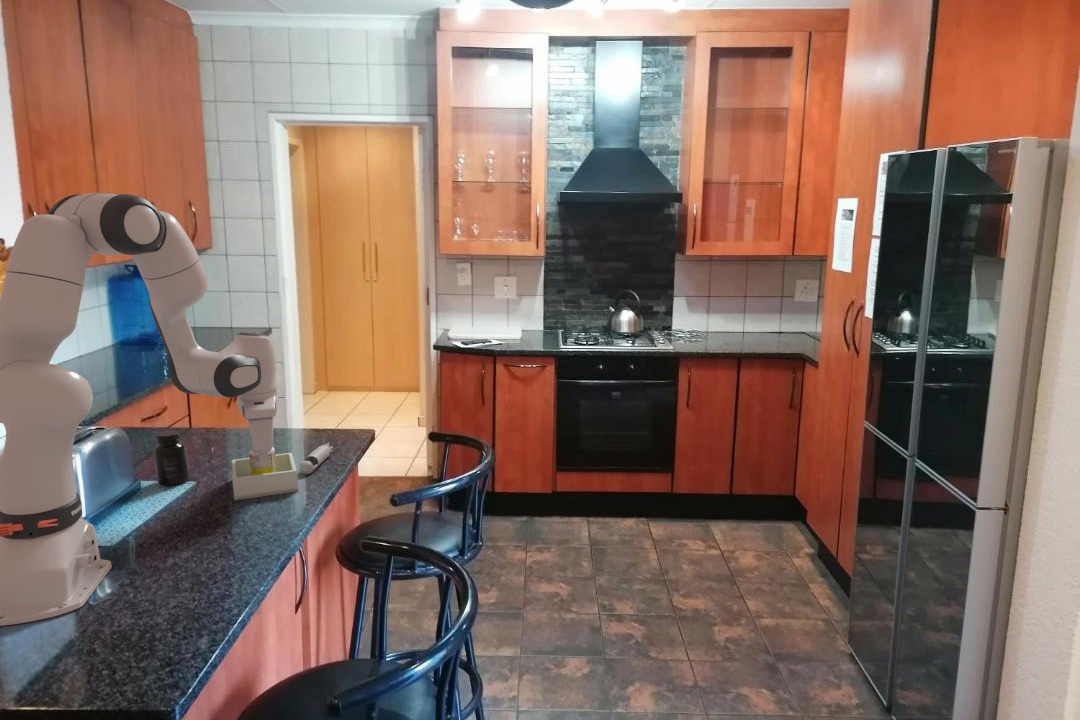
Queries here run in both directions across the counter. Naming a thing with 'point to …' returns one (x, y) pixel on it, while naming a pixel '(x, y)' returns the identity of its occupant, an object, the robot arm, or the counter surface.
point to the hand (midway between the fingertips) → (263, 459)
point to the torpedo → (315, 459)
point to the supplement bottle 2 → (256, 464)
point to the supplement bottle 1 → (171, 459)
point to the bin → (264, 478)
